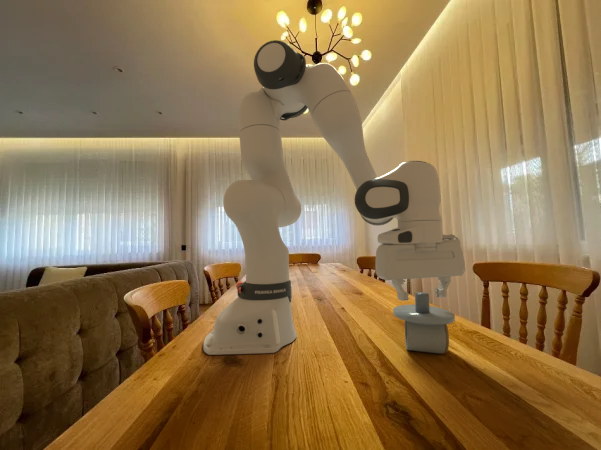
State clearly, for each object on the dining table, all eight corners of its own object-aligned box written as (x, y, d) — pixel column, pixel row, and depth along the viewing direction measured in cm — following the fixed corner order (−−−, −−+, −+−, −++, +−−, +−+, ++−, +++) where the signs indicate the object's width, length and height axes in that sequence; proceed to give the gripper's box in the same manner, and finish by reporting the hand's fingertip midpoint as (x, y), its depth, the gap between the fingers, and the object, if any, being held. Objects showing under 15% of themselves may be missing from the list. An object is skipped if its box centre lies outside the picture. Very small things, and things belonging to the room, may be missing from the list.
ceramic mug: (451, 360, 50) (449, 321, 51) (407, 355, 53) (406, 318, 53) (439, 340, 60) (438, 308, 61) (403, 337, 63) (401, 306, 63)
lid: (415, 327, 48) (414, 301, 48) (383, 310, 60) (382, 289, 60) (469, 322, 50) (468, 297, 51) (428, 306, 62) (427, 286, 62)
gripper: (448, 234, 61) (451, 292, 60) (370, 235, 57) (372, 298, 56) (471, 234, 55) (474, 298, 54) (386, 235, 50) (388, 305, 50)
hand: (422, 298), depth 55 cm, fingers open, 8 cm apart
